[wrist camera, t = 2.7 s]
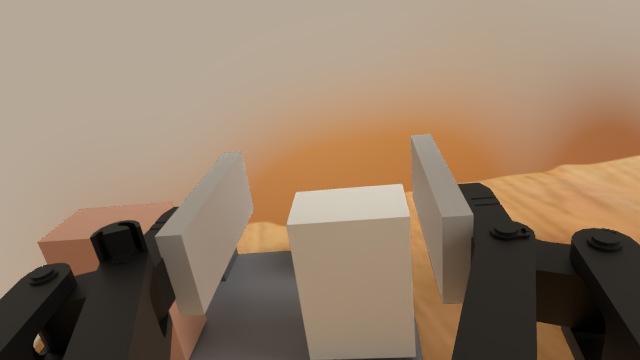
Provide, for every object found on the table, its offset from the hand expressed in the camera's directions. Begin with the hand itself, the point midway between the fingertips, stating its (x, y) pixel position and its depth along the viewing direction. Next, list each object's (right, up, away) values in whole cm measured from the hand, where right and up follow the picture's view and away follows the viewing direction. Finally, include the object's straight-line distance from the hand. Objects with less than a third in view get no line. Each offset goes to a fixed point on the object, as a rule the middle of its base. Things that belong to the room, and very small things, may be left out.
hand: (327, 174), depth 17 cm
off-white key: (+3, -13, +17) cm, 21 cm away
